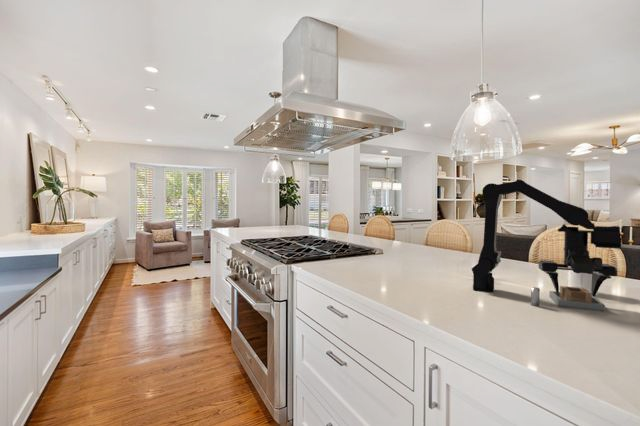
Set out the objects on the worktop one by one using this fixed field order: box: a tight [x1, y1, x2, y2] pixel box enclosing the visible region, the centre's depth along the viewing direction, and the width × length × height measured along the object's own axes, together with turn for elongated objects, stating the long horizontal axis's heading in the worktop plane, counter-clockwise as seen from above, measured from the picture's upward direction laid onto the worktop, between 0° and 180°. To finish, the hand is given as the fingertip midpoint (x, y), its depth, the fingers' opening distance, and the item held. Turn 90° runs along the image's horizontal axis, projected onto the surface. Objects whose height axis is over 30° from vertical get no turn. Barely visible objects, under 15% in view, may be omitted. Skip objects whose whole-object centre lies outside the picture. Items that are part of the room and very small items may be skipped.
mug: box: [567, 266, 600, 297], centre depth 109 cm, size 12×8×12 cm
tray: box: [548, 290, 606, 312], centre depth 98 cm, size 11×11×2 cm
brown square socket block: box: [559, 285, 592, 303], centre depth 98 cm, size 6×6×4 cm
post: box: [530, 286, 541, 307], centre depth 97 cm, size 2×2×6 cm
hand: (575, 294), depth 98 cm, fingers open, 9 cm apart
